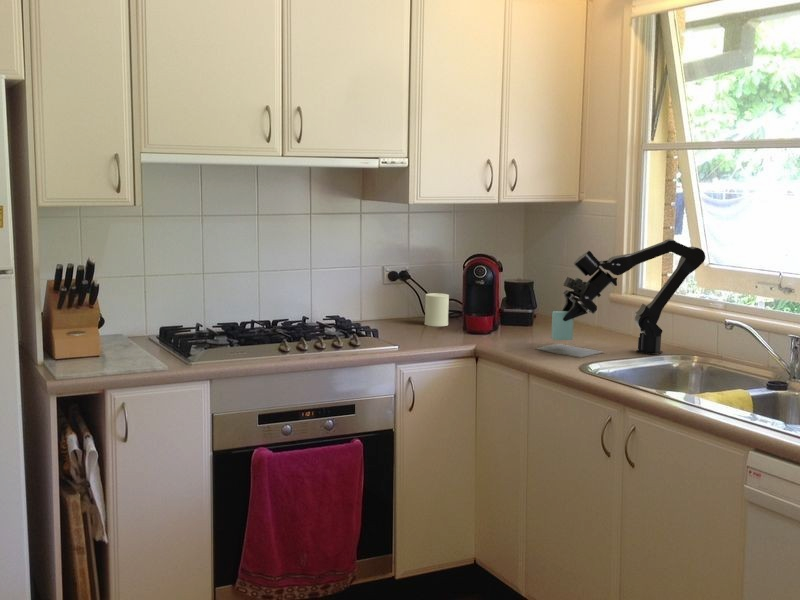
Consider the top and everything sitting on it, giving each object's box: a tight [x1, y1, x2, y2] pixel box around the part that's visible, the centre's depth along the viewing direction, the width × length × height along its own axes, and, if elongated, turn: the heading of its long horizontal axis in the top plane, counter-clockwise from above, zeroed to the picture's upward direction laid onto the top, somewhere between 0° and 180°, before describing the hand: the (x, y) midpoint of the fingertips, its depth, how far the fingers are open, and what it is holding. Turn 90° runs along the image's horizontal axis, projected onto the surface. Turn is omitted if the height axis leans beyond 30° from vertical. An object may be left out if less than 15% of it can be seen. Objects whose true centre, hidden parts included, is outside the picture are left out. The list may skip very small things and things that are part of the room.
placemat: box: [535, 343, 604, 359], centre depth 301 cm, size 18×13×1 cm
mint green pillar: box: [550, 310, 575, 341], centre depth 300 cm, size 4×6×9 cm, turn 99°
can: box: [424, 292, 450, 327], centre depth 348 cm, size 9×9×12 cm
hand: (561, 319), depth 300 cm, fingers closed on mint green pillar, 4 cm apart
